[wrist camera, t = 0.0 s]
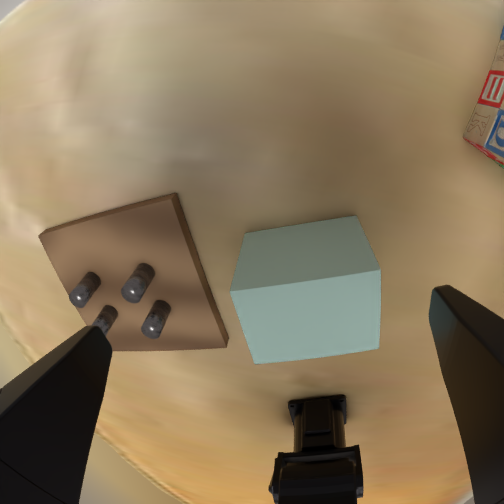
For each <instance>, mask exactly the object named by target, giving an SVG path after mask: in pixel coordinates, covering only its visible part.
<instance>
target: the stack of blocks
mask: <svg viewBox="0 0 504 504" xmlns="http://www.w3.org/2000/svg"><path fill="white" fill-rule="evenodd" d="M463 138H464V139H465V140H467V141H468V142H469V143H471V144H472V145H473V146H475V147H476V148H477V149H479V150H480V151H481V152H483V153H484V154H485V155H487V156H488V157H490V158H491V159H493V160H494V161H495V162H496V163H498V164H499V165H500V166H501V167H502V168H503V169H504V27H503V31H502V34H501V37H500V42H499V45H498V49H497V52H496V55H495V58H494V61H493V64H492V67H491V70H490V71H489V74H488V76H487V79H486V82H485V84H484V87H483V90H482V92H481V95H480V98H479V100H478V103H477V105H476V107H475V109H474V112H473V114H472V116H471V119H470V121H469V123H468V126H467V128H466V130H465V133H464V135H463Z"/></svg>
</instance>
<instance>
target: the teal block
mask: <svg viewBox="0 0 504 504" xmlns="http://www.w3.org/2000/svg"><path fill="white" fill-rule="evenodd" d="M230 294H231V297H232V300H233V303H234V306H235V309H236V312H237V315H238V318H239V321H240V324H241V326H242V329H243V332H244V335H245V338H246V341H247V344H248V347H249V349H250V352H251V355H252V358H253V361H254V364H263V363H274V362H285V361H295V360H304V359H312V358H320V357H328V356H335V355H342V354H349V353H355V352H361V351H367V350H373V349H379V337H380V311H381V269H380V267H379V264H378V262H377V260H376V257H375V255H374V253H373V251H372V248H371V246H370V244H369V242H368V240H367V237H366V235H365V233H364V231H363V229H362V227H361V224H360V222H359V220H358V218H357V216H349V217H343V218H336V219H330V220H323V221H317V222H310V223H304V224H298V225H292V226H285V227H279V228H273V229H267V230H261V231H255V232H249V233H245V235H244V238H243V242H242V246H241V250H240V254H239V257H238V261H237V265H236V269H235V273H234V277H233V280H232V284H231V288H230Z"/></svg>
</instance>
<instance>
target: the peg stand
mask: <svg viewBox="0 0 504 504" xmlns="http://www.w3.org/2000/svg"><path fill="white" fill-rule="evenodd" d="M39 239H40V241H41V243H42V245H43V247H44V249H45V251H46V253H47V255H48V257H49V259H50V261H51V263H52V265H53V267H54V269H55V271H56V273H57V275H58V277H59V279H60V281H61V282H62V284H63V286H64V288H65V290H66V291H67V293H68V295H69V299H70V301H71V303H72V304H73V305H74V306H75V307H76V309H77V310H78V312H79V314H80V315H81V317H82V319H83V320H84V322H85V324H86V325H87V326H90V325H96V326H99V327H100V328H101V330H102V331H103V333H104V334H105V336H106V338H107V339H108V341H109V342H110V344H111V346H112V351H171V350H195V349H213V348H227V344H228V339H229V338H228V335H227V333H226V330H225V328H224V325H223V322H222V320H221V317H220V315H219V312H218V309H217V307H216V304H215V301H214V299H213V296H212V293H211V291H210V288H209V285H208V282H207V280H206V277H205V274H204V271H203V269H202V266H201V263H200V260H199V258H198V255H197V252H196V249H195V246H194V243H193V240H192V238H191V235H190V232H189V229H188V226H187V223H186V220H185V217H184V214H183V211H182V208H181V205H180V202H179V199H178V196H177V193H175V194H170V195H166V196H162V197H158V198H154V199H150V200H146V201H143V202H139V203H135V204H131V205H127V206H124V207H120V208H116V209H113V210H109V211H106V212H102V213H99V214H95V215H92V216H88V217H85V218H82V219H78V220H75V221H72V222H68V223H65V224H62V225H59V226H56V227H53V228H50V229H46V230H45V231H43V232H42V233H41V234H40V235H39Z"/></svg>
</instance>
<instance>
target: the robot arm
mask: <svg viewBox="0 0 504 504" xmlns="http://www.w3.org/2000/svg"><path fill="white" fill-rule="evenodd" d="M429 323H430V326H431V330H432V334H433V338H434V342H435V346H436V350H437V354H438V358H439V363H440V367H441V371H442V375H443V378H444V382H445V385H446V388H447V391H448V394H449V397H450V400H451V404H452V407H453V410H454V414H455V417H456V421H457V424H458V428H459V432H460V435H461V439H462V443H463V447H464V451H465V456H466V460H467V464H468V469H469V474H470V479H471V484H472V489H473V495H474V501H475V504H504V319H503V318H501V317H500V316H498V315H497V314H495V313H494V312H492V311H490V310H489V309H487V308H486V307H484V306H483V305H481V304H479V303H478V302H476V301H475V300H473V299H471V298H470V297H468V296H467V295H465V294H463V293H462V292H460V291H458V290H457V289H455V288H453V287H452V286H450V285H443V286H438V287H435V288H434V289H433V290H432V295H431V302H430V309H429ZM111 357H112V346H111V344H110V342H109V341H108V339H107V338H106V336H105V334H104V333H103V331H102V330H101V328H100V327H99V326H96V325H90V326H85V327H84V328H82V329H81V330H80V331H78V332H77V333H75V334H74V335H73V336H71V337H70V338H68V339H67V340H66V341H64V342H63V343H61V344H60V345H59V346H57V347H56V348H55V349H53V350H52V351H50V352H49V353H48V354H46V355H45V356H44V357H42V358H41V359H40V360H38V361H37V362H36V363H34V364H33V365H32V366H30V367H29V368H28V369H26V370H25V371H23V372H22V373H21V374H19V375H18V376H17V377H15V378H14V379H13V380H12V381H10V382H9V383H8V384H6V385H5V386H4V387H3V388H1V389H0V504H79V499H80V494H81V488H82V483H83V479H84V474H85V469H86V464H87V460H88V455H89V451H90V447H91V443H92V438H93V435H94V431H95V427H96V423H97V419H98V415H99V412H100V408H101V404H102V401H103V397H104V392H105V387H106V382H107V377H108V372H109V367H110V362H111ZM288 408H289V411H290V415H291V418H292V422H293V425H294V452H290V453H284V452H278V458H275V466H274V473H273V476H272V479H271V482H270V485H269V492H270V493H272V494H273V498H274V502H275V504H357V498H361V497H363V472H362V464H361V456H360V449H359V445H354V446H351V447H346V443H345V430H344V425H345V424H346V396H343V395H342V396H334V397H326V398H318V399H309V400H298V401H290V402H289V403H288Z"/></svg>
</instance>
